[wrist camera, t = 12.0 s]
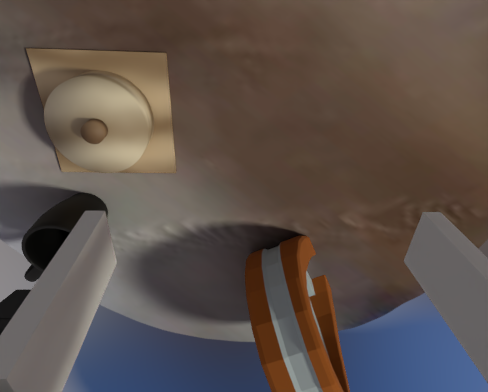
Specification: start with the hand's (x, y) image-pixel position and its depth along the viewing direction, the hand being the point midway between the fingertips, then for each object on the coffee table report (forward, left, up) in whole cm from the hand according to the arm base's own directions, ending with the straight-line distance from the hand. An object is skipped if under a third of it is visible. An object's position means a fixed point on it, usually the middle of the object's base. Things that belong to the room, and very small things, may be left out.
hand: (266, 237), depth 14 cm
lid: (+4, -16, -28) cm, 33 cm away
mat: (+4, -16, -29) cm, 33 cm away
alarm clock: (+31, +10, -29) cm, 44 cm away
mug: (+19, -23, -29) cm, 42 cm away
